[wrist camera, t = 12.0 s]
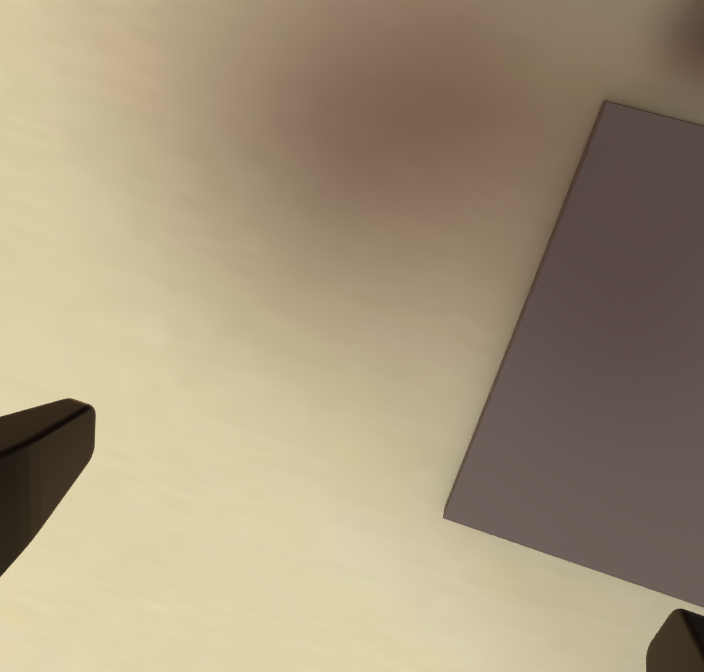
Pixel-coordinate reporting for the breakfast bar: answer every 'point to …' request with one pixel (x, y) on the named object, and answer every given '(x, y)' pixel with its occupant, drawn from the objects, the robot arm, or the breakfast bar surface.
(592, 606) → the breakfast bar surface
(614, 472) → the rubber mat
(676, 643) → the robot arm
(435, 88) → the breakfast bar surface
